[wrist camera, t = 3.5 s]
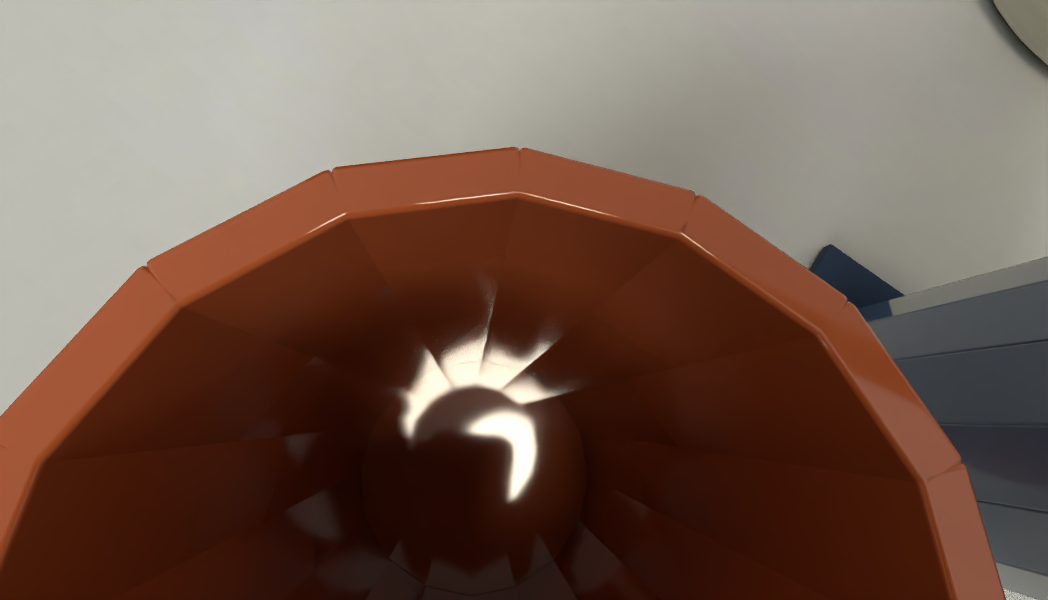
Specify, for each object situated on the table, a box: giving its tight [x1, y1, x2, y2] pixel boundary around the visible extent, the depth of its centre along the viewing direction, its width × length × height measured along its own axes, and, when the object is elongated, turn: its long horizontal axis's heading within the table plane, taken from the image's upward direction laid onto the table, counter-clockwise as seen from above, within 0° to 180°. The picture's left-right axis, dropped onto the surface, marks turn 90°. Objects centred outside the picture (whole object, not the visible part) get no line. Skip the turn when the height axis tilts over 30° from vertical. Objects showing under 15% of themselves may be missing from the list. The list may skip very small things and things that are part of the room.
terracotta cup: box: [0, 147, 1006, 600], centre depth 10 cm, size 7×7×13 cm
